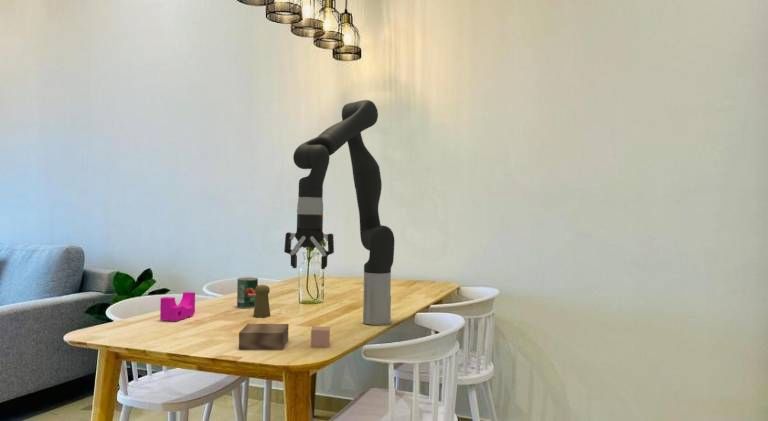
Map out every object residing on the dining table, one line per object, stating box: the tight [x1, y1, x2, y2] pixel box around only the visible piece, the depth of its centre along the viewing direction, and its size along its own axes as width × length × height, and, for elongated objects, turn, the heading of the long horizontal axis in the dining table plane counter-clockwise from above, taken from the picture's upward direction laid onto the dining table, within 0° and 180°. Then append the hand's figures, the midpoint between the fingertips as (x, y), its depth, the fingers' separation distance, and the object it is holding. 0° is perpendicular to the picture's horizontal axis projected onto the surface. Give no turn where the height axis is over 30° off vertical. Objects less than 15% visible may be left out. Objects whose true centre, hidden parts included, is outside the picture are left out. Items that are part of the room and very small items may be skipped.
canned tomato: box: [236, 276, 259, 309], centre depth 219 cm, size 8×8×11 cm
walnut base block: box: [238, 323, 289, 351], centre depth 159 cm, size 12×12×5 cm
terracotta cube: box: [310, 326, 331, 349], centre depth 159 cm, size 5×5×5 cm
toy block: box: [159, 291, 196, 322], centre depth 198 cm, size 15×6×8 cm, turn 166°
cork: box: [252, 284, 271, 318], centre depth 201 cm, size 6×6×11 cm
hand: (308, 268), depth 162 cm, fingers open, 8 cm apart
